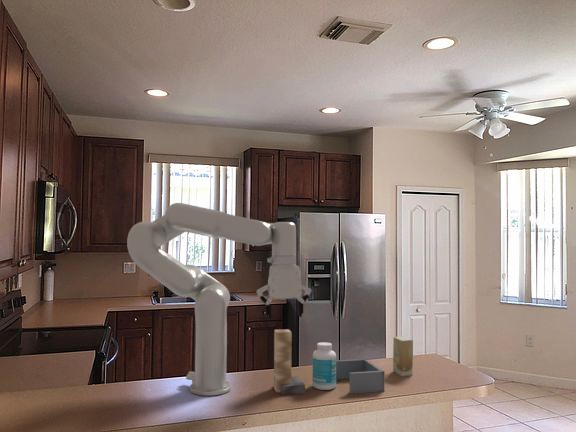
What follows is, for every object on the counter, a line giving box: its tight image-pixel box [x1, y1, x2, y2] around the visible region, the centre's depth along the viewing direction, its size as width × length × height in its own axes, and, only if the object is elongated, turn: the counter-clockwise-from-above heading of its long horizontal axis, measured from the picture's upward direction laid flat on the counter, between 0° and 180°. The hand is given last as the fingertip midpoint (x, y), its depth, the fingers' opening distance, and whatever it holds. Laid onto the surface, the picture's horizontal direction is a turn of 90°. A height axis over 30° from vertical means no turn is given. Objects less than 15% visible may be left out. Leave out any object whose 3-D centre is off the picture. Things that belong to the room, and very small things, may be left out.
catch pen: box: [336, 358, 385, 394], centre depth 150 cm, size 11×15×6 cm
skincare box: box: [392, 335, 414, 377], centre depth 163 cm, size 6×4×12 cm
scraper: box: [273, 328, 306, 396], centre depth 146 cm, size 8×9×18 cm
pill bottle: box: [312, 342, 337, 391], centre depth 148 cm, size 8×7×14 cm
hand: (284, 316), depth 146 cm, fingers open, 9 cm apart
